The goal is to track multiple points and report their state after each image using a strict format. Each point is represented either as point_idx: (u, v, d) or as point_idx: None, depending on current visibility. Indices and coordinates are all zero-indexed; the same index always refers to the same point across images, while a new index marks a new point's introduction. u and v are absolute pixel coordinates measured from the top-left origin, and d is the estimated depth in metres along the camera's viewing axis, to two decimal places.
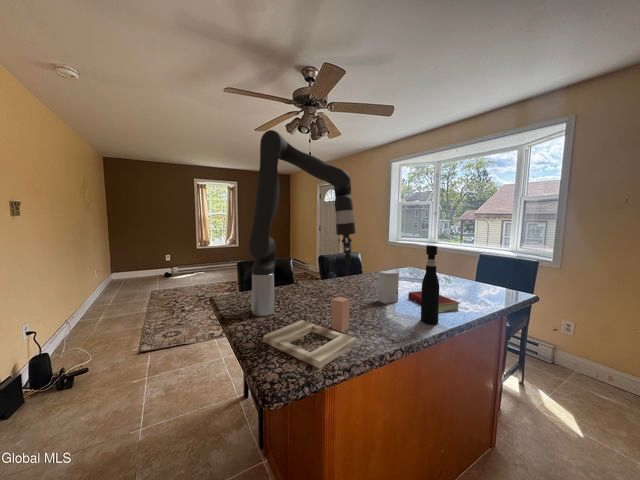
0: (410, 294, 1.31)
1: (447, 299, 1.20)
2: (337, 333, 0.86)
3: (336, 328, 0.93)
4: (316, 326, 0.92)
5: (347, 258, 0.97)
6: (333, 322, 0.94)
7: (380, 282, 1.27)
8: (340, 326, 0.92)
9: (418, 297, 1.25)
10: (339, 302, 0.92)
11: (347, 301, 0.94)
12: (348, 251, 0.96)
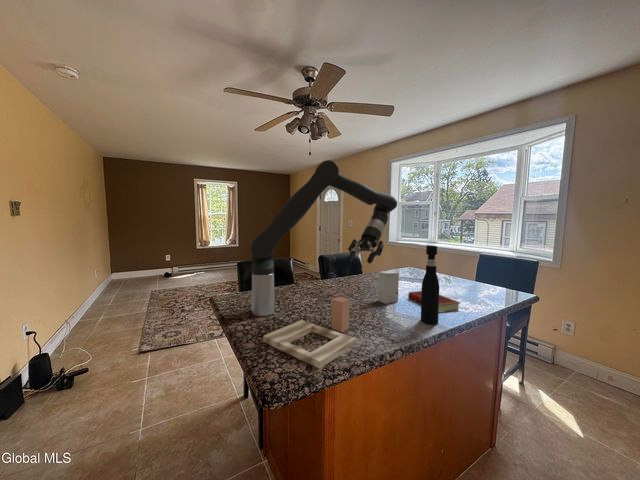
0: (410, 294, 1.31)
1: (447, 299, 1.20)
2: (337, 333, 0.86)
3: (336, 328, 0.93)
4: (316, 326, 0.92)
5: (372, 257, 1.01)
6: (333, 322, 0.94)
7: (380, 282, 1.27)
8: (340, 326, 0.92)
9: (418, 297, 1.25)
10: (339, 302, 0.92)
11: (347, 301, 0.94)
12: (379, 253, 1.01)
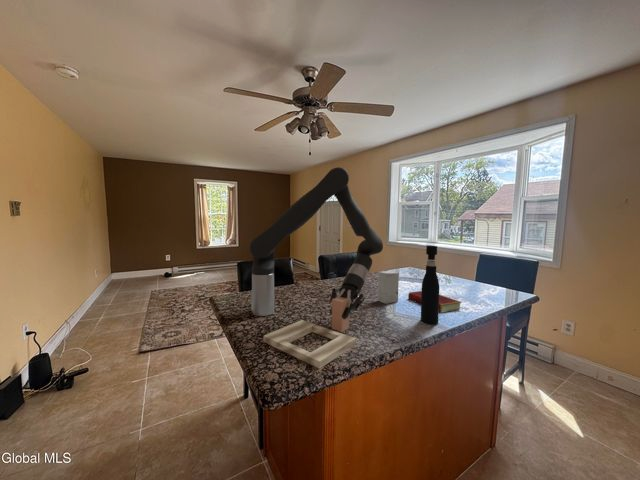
0: (410, 294, 1.30)
1: (448, 299, 1.20)
2: (337, 333, 0.86)
3: (336, 328, 0.93)
4: (316, 326, 0.92)
5: (348, 312, 0.92)
6: (333, 322, 0.94)
7: (380, 282, 1.27)
8: (340, 326, 0.92)
9: (419, 297, 1.24)
10: (339, 302, 0.92)
11: (347, 301, 0.94)
12: (355, 307, 0.93)
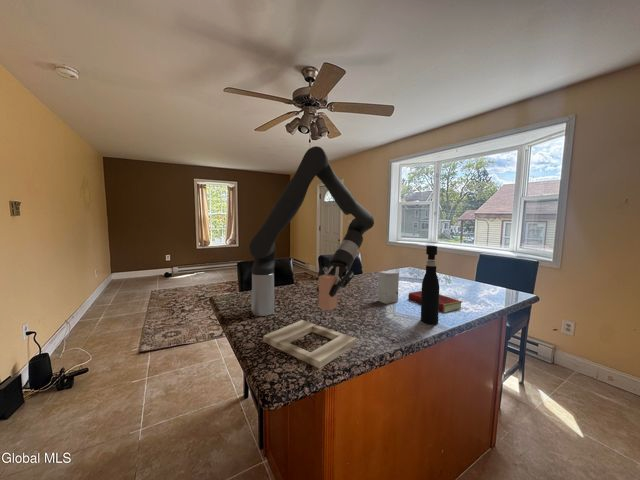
0: (410, 295, 1.29)
1: (449, 298, 1.21)
2: (337, 333, 0.86)
3: (323, 307, 0.87)
4: (316, 326, 0.92)
5: (335, 289, 0.86)
6: (320, 300, 0.88)
7: (380, 282, 1.27)
8: (327, 304, 0.86)
9: (420, 298, 1.24)
10: (326, 278, 0.86)
11: (335, 278, 0.87)
12: (344, 284, 0.86)
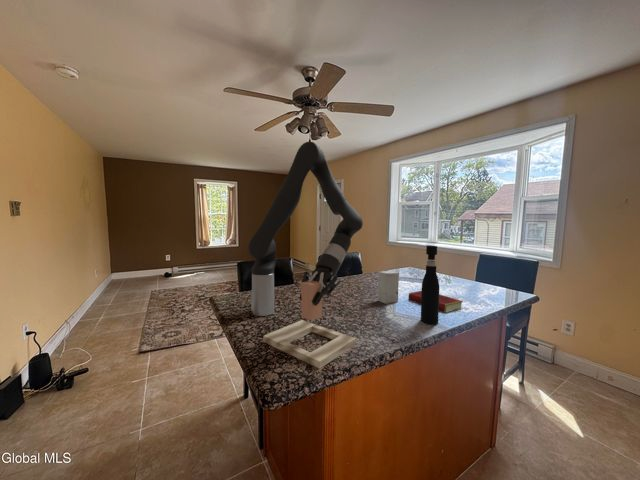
0: (411, 295, 1.29)
1: (449, 298, 1.21)
2: (337, 333, 0.86)
3: (306, 316, 0.81)
4: (316, 326, 0.92)
5: (319, 297, 0.79)
6: (303, 309, 0.81)
7: (380, 282, 1.27)
8: (310, 313, 0.79)
9: None
10: (309, 285, 0.79)
11: (319, 285, 0.81)
12: (328, 291, 0.80)
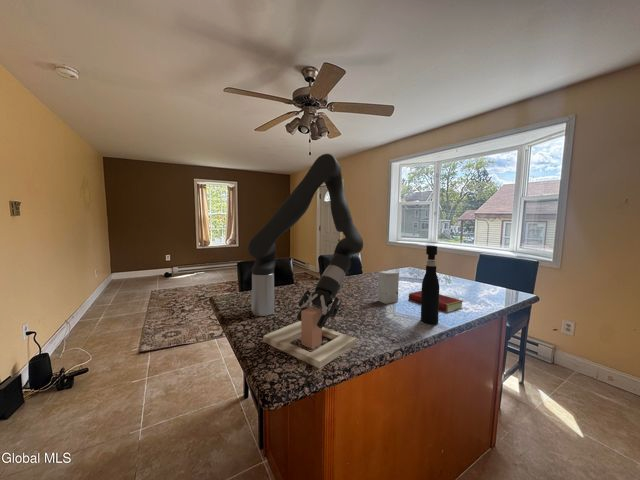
0: (411, 295, 1.29)
1: (450, 298, 1.21)
2: (337, 333, 0.86)
3: (306, 344, 0.81)
4: None
5: (324, 320, 0.79)
6: (303, 337, 0.82)
7: (380, 282, 1.27)
8: (310, 342, 0.80)
9: None
10: (309, 314, 0.80)
11: (319, 313, 0.81)
12: (333, 314, 0.80)
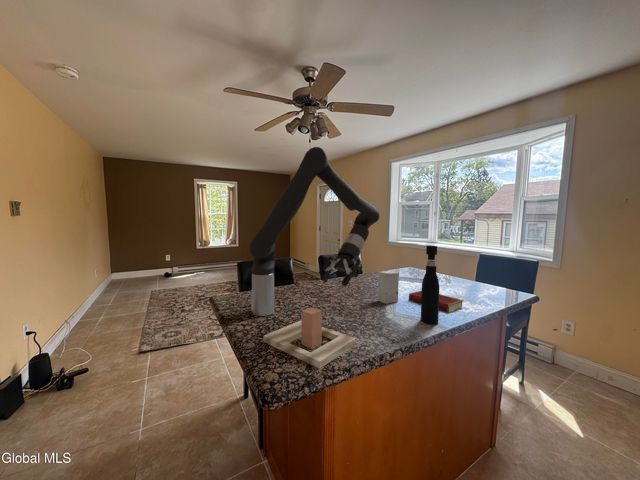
0: (411, 295, 1.28)
1: (450, 298, 1.22)
2: (337, 333, 0.86)
3: (306, 344, 0.81)
4: None
5: (348, 279, 0.88)
6: (303, 337, 0.82)
7: (380, 282, 1.27)
8: (310, 342, 0.80)
9: None
10: (309, 314, 0.80)
11: (319, 313, 0.81)
12: (356, 274, 0.89)
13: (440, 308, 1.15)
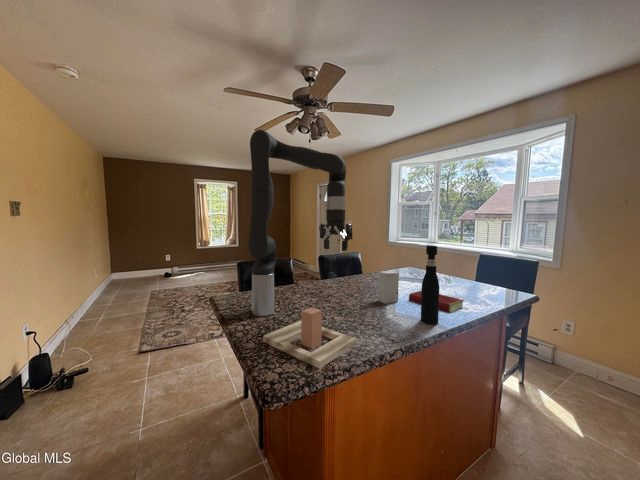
0: (411, 295, 1.28)
1: (450, 298, 1.22)
2: (337, 333, 0.86)
3: (306, 344, 0.81)
4: None
5: (346, 244, 0.98)
6: (303, 337, 0.82)
7: (380, 282, 1.27)
8: (310, 342, 0.80)
9: None
10: (309, 314, 0.80)
11: (319, 313, 0.81)
12: (350, 237, 0.98)
13: (441, 308, 1.15)
